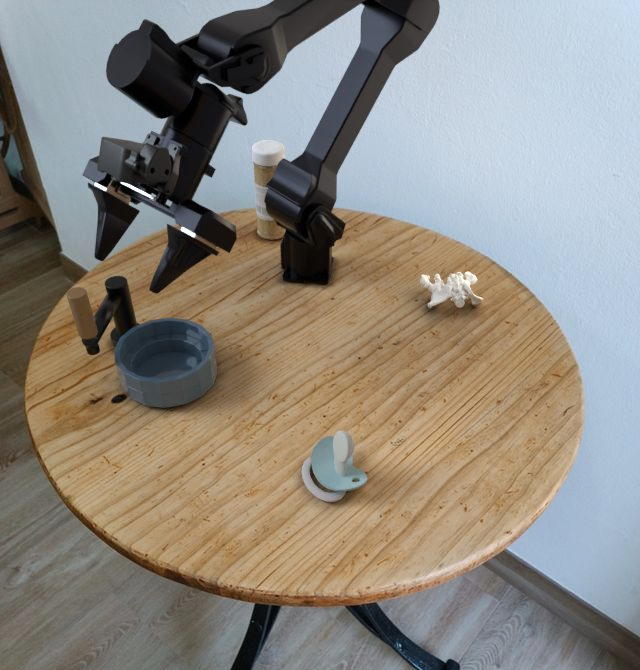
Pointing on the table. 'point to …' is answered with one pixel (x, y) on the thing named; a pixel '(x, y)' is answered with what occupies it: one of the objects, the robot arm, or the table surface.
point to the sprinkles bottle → (265, 165)
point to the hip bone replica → (451, 289)
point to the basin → (166, 362)
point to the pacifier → (333, 467)
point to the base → (115, 336)
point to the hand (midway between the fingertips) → (125, 275)
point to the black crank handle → (102, 312)
